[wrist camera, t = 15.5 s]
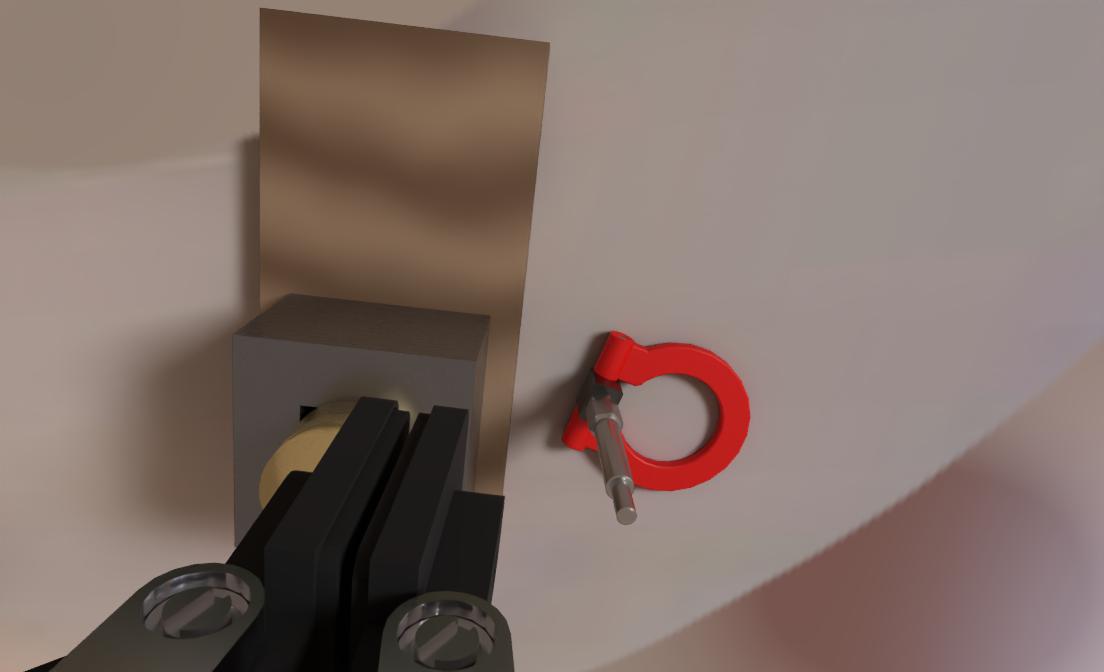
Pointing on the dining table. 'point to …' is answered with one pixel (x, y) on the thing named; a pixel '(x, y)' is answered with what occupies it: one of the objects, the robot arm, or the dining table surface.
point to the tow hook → (602, 421)
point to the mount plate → (403, 178)
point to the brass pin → (304, 446)
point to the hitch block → (347, 374)
